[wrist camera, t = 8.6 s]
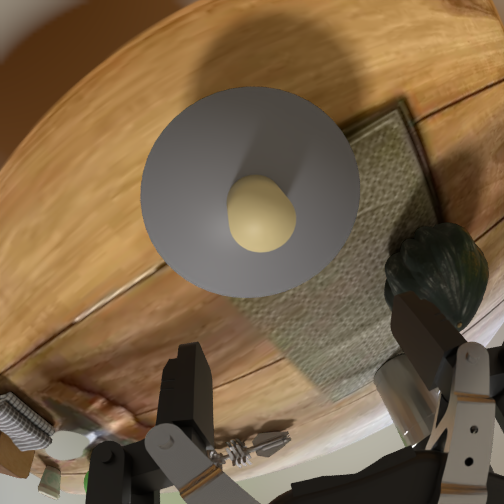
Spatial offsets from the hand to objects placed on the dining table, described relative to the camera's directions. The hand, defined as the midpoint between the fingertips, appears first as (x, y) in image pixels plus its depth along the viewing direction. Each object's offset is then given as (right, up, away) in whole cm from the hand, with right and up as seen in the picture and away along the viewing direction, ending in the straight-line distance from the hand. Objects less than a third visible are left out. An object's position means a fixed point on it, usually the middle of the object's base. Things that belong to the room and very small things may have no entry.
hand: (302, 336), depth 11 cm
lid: (-2, +8, +13) cm, 15 cm away
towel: (-59, -36, +36) cm, 78 cm away
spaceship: (-11, -39, +43) cm, 59 cm away
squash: (+21, +2, +27) cm, 34 cm away
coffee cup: (-72, -73, +53) cm, 115 cm away
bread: (-86, -58, +44) cm, 113 cm away
